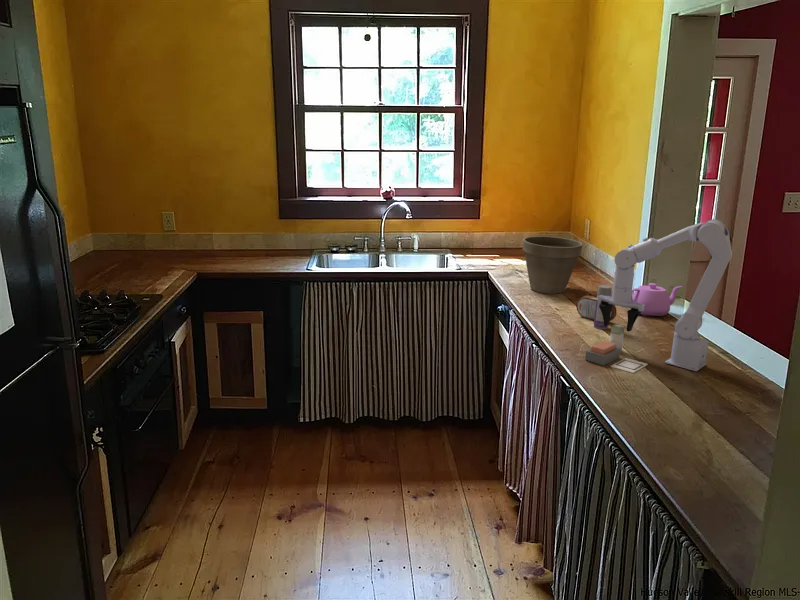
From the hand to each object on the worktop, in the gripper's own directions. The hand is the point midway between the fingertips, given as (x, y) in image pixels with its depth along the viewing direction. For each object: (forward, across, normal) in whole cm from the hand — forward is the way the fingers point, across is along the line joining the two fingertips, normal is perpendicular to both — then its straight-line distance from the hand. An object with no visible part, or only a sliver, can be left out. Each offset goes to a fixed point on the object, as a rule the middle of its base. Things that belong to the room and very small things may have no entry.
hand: (617, 327), depth 205 cm
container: (+8, +15, -19) cm, 25 cm away
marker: (+8, 0, 0) cm, 8 cm away
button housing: (+8, -1, +10) cm, 13 cm away
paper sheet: (+8, -10, +10) cm, 16 cm away
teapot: (+8, +10, -51) cm, 53 cm away
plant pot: (+8, +56, -51) cm, 77 cm away
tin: (+8, +21, -26) cm, 34 cm away
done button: (+5, -1, +11) cm, 12 cm away
